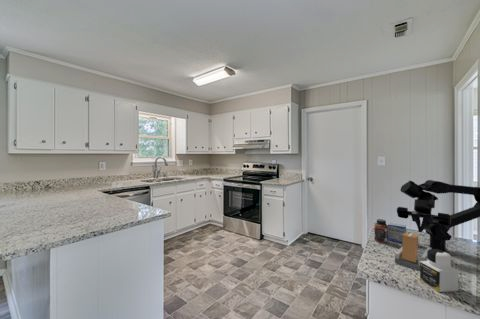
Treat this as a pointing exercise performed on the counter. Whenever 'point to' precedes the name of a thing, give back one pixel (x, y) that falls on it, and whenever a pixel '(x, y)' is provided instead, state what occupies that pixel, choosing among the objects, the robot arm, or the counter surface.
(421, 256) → the fader console
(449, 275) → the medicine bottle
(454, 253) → the counter surface
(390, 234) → the medicine box
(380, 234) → the supplement bottle
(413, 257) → the fader knob
